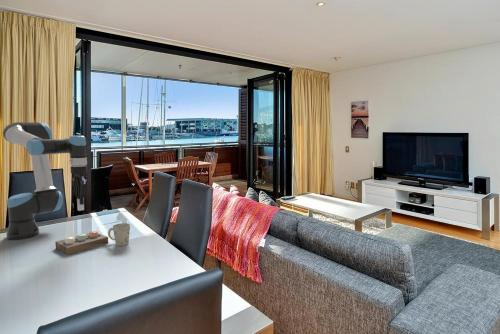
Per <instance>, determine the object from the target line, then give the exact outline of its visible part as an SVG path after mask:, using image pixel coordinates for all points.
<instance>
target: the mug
mask: <svg viewBox="0 0 500 334" xmlns="http://www.w3.org/2000/svg"><path fill="white" fill-rule="evenodd" d="M130 230H131V224H130V223H128V222H125V223H124V222H121V223H120V222H119V223H116V224H114V225H112V227H110V228H109V229H108V231H107V237H108V239H111V240H112V241H115V245H116V247H124V246H127V245H128V244H129V242H130V241H129V239H130ZM111 232H113V236H114V237H112V236H111Z"/></svg>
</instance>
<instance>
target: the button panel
mask: <svg viewBox="0 0 500 334" xmlns="http://www.w3.org/2000/svg"><path fill="white" fill-rule="evenodd" d="M86 234H87V240H84V241H80V242H79V241H77V235H76V236H74V237H75V243H72V244H69V245H66V244H65V238H64V239H60V240H56V241H55V249H57V250H58V251H59V252H62V253H64V254H66V255H68V256H70V255H72V254H75V253H80V252H82V251H86V250H89V249H90V250H91V249H93V248H97V247H100V246H103V245H107V244H109V236H108V235H104V234H102V233H99V232H98V236H99V237H95V238H89V232H88V233H86Z"/></svg>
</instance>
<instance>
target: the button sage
mask: <svg viewBox="0 0 500 334" xmlns="http://www.w3.org/2000/svg"><path fill="white" fill-rule="evenodd" d="M87 234H88V233H80V234H77V235H76V236H77V241H79V242H80V241H84V240H87Z"/></svg>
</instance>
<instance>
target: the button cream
mask: <svg viewBox="0 0 500 334" xmlns="http://www.w3.org/2000/svg"><path fill="white" fill-rule="evenodd" d="M75 237H76V236H68V237H65V238H64V239H65V244H66V245H69V244H72V243H75Z"/></svg>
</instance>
